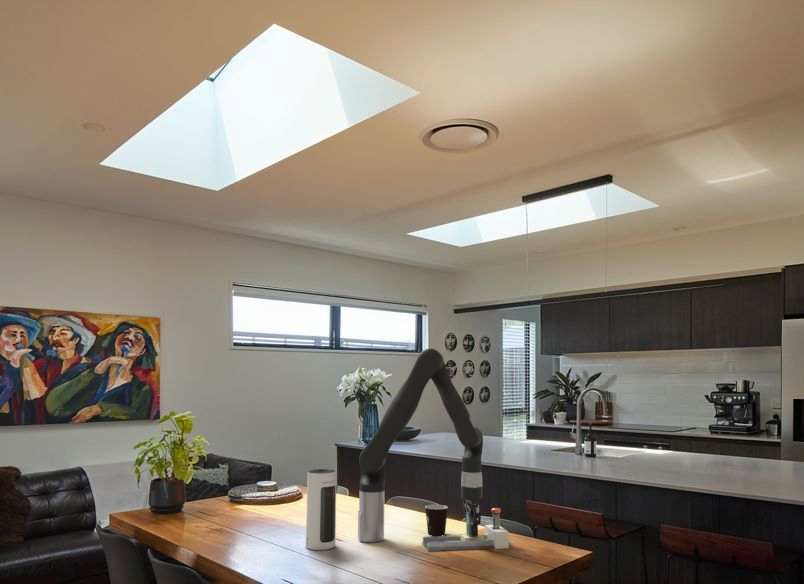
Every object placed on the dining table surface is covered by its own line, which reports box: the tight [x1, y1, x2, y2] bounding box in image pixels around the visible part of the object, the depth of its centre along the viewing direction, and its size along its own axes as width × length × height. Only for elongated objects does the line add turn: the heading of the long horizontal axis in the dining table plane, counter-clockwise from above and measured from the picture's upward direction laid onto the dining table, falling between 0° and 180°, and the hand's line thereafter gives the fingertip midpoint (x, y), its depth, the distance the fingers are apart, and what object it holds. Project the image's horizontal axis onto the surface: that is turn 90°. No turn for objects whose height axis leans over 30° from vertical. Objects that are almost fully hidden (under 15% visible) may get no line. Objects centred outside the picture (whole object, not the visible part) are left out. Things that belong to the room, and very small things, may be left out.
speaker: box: [305, 468, 337, 551], centre depth 217 cm, size 11×10×26 cm
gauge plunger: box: [491, 507, 501, 530], centre depth 221 cm, size 3×3×9 cm
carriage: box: [459, 511, 484, 540], centre depth 219 cm, size 7×5×10 cm
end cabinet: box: [484, 524, 510, 550], centre depth 220 cm, size 5×11×6 cm, turn 11°
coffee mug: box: [424, 504, 449, 536], centre depth 236 cm, size 12×9×10 cm
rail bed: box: [421, 533, 495, 552], centre depth 218 cm, size 27×10×3 cm, turn 101°
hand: (472, 533), depth 219 cm, fingers open, 5 cm apart
